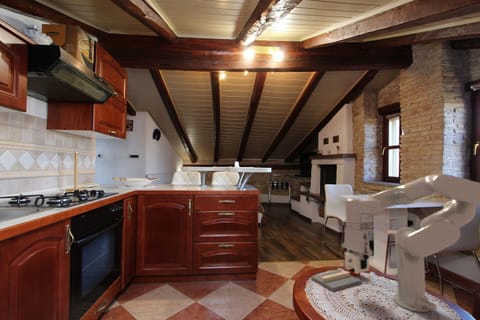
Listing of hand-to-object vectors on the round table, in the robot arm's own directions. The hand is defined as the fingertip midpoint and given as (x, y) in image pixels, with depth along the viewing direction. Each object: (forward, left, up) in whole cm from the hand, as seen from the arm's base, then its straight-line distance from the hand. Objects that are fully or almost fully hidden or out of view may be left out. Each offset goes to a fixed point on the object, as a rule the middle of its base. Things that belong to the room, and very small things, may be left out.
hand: (357, 265), depth 108 cm
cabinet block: (0, 0, -2) cm, 2 cm away
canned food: (+17, -19, -13) cm, 29 cm away
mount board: (+14, -3, -13) cm, 20 cm away
